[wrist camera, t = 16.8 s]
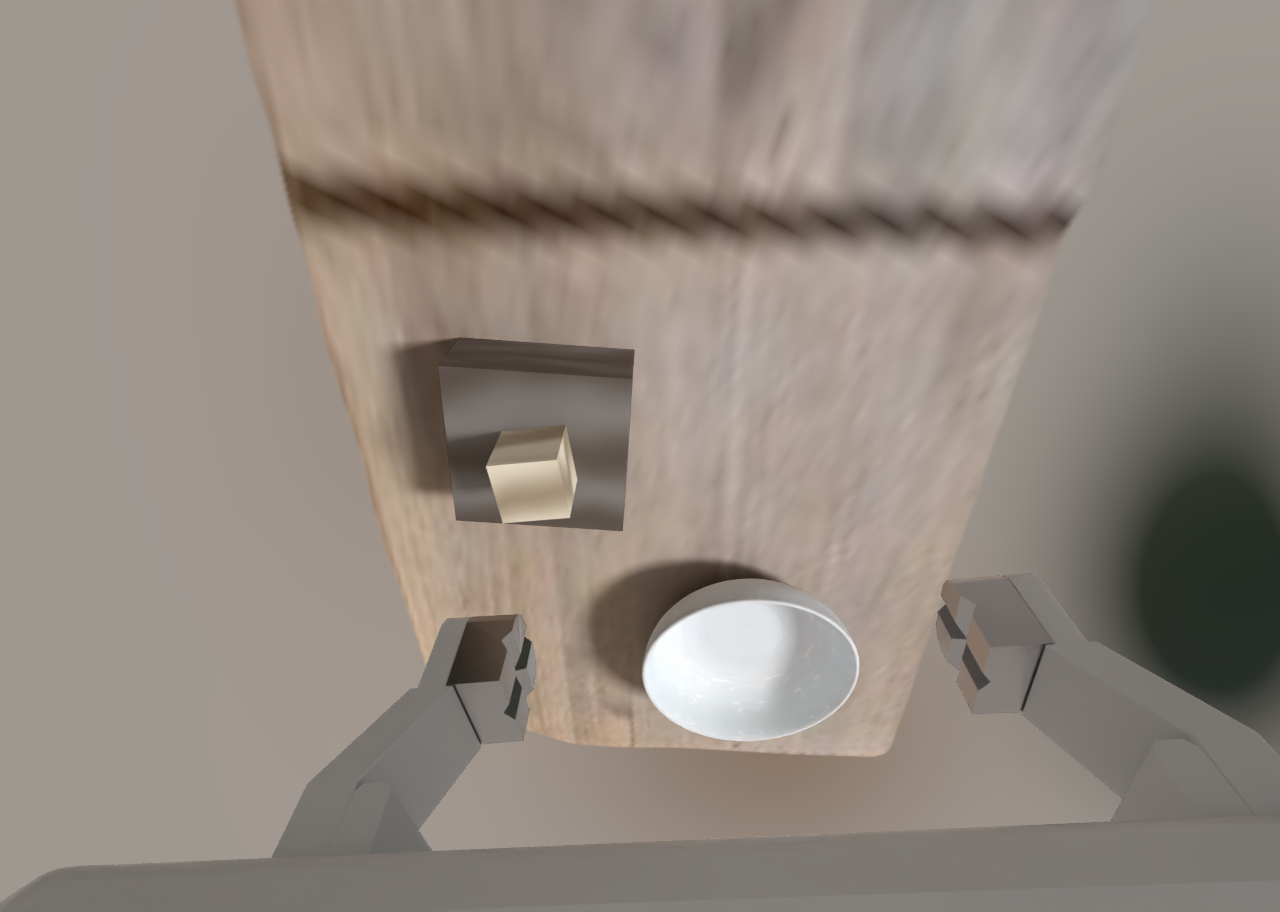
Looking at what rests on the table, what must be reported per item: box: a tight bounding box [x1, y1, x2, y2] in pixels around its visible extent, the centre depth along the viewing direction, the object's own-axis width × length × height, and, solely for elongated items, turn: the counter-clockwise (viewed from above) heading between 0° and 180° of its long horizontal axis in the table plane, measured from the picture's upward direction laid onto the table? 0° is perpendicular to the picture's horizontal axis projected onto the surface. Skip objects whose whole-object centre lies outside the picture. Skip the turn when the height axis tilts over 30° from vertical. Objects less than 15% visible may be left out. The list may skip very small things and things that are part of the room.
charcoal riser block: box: [438, 338, 634, 531], centre depth 50 cm, size 14×14×6 cm
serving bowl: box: [642, 579, 859, 741], centre depth 62 cm, size 21×21×7 cm
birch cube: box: [486, 425, 577, 523], centre depth 45 cm, size 5×5×5 cm
